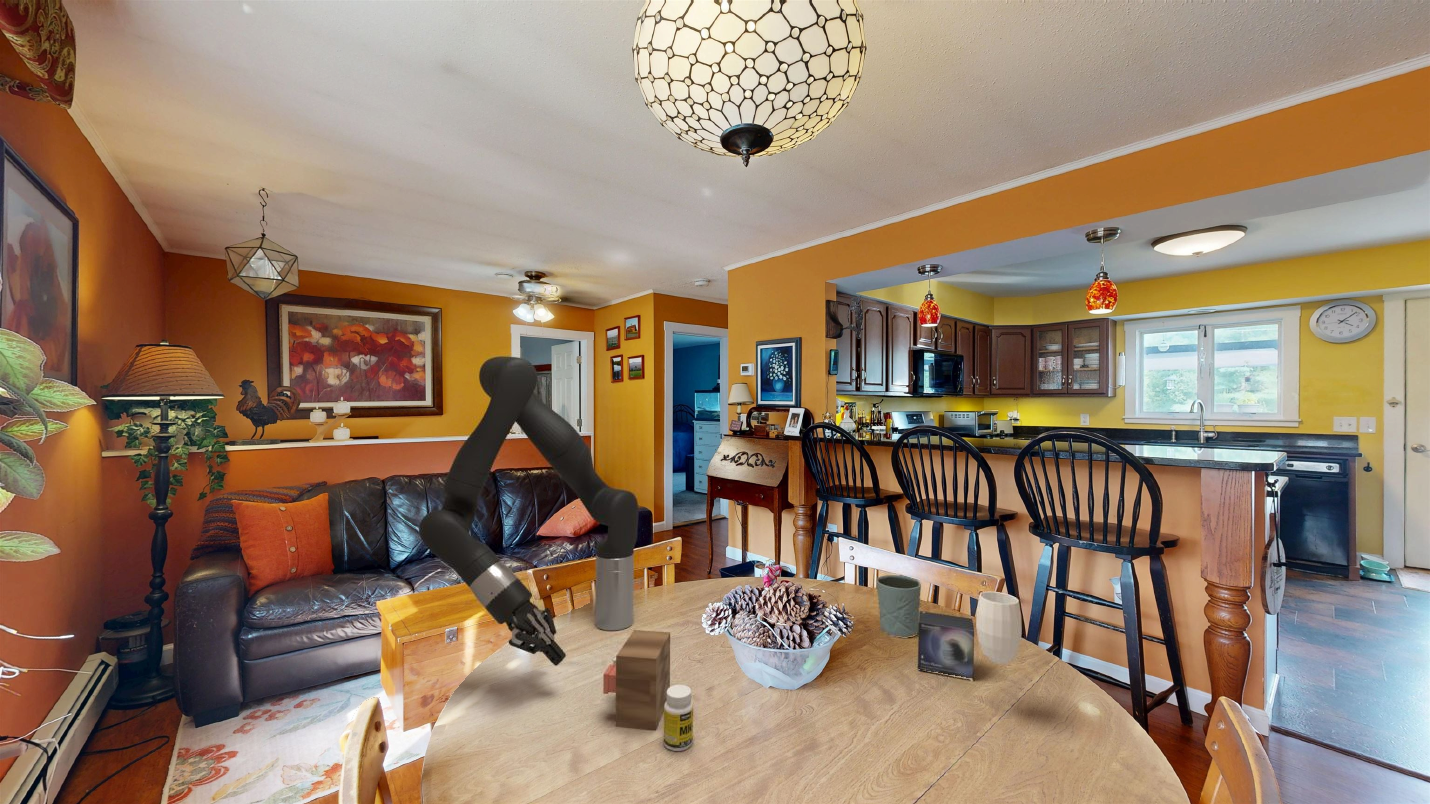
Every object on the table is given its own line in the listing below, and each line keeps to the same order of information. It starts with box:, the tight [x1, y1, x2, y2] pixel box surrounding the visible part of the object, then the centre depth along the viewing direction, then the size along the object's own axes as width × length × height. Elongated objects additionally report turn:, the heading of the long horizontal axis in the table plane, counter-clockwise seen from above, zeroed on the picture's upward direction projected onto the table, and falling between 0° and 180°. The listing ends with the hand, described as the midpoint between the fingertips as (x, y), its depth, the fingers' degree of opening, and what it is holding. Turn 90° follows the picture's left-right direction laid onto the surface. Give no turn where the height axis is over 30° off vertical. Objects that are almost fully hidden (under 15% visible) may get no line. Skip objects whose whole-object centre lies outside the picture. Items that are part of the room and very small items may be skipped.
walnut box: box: [615, 629, 671, 731], centre depth 96 cm, size 10×7×12 cm
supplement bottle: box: [663, 684, 694, 752], centre depth 87 cm, size 5×5×8 cm
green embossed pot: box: [876, 574, 922, 637], centre depth 130 cm, size 10×10×12 cm
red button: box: [602, 663, 616, 695], centre depth 94 cm, size 3×8×3 cm, turn 82°
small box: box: [917, 610, 975, 679], centre depth 111 cm, size 11×6×10 cm, turn 68°
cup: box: [975, 591, 1023, 665], centre depth 96 cm, size 7×7×21 cm
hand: (561, 660), depth 100 cm, fingers closed
